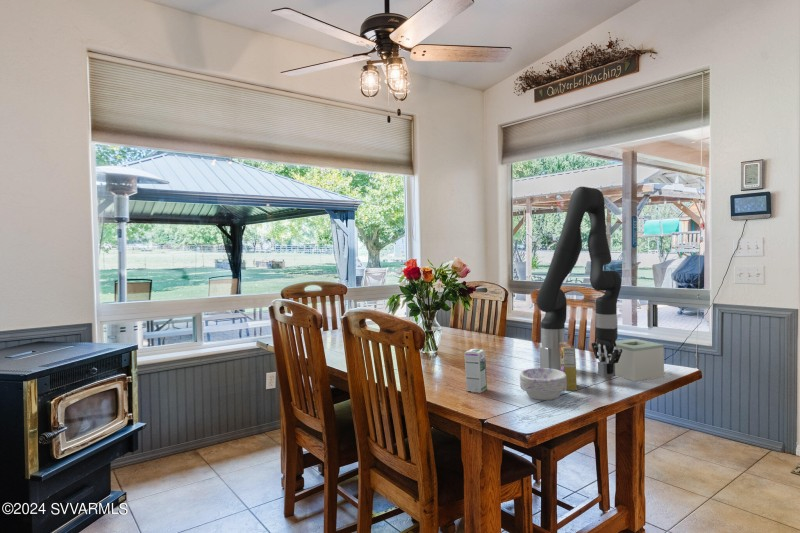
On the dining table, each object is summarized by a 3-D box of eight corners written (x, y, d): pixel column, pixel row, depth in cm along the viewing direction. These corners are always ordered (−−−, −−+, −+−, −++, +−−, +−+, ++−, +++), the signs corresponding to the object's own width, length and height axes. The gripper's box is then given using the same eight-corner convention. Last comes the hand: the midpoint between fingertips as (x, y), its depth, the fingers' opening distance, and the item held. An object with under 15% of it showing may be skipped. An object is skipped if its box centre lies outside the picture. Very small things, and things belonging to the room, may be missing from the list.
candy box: (560, 383, 178) (558, 342, 177) (572, 383, 177) (571, 342, 177) (564, 390, 169) (563, 347, 169) (577, 390, 168) (575, 347, 168)
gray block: (603, 377, 174) (603, 363, 174) (598, 375, 177) (597, 362, 177) (615, 375, 176) (614, 362, 175) (609, 373, 179) (609, 360, 178)
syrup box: (481, 393, 170) (479, 352, 169) (465, 391, 173) (464, 351, 172) (487, 389, 175) (485, 349, 174) (472, 387, 178) (470, 348, 177)
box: (634, 381, 176) (633, 348, 176) (606, 372, 190) (606, 342, 189) (664, 376, 181) (663, 344, 180) (635, 368, 194) (634, 338, 194)
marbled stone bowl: (540, 406, 154) (539, 381, 154) (511, 394, 168) (510, 371, 168) (577, 398, 160) (576, 374, 160) (546, 387, 174) (545, 365, 174)
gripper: (584, 323, 181) (585, 369, 182) (611, 329, 168) (611, 378, 168) (601, 322, 183) (601, 367, 184) (629, 328, 170) (629, 376, 171)
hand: (606, 372), depth 176 cm, fingers closed on gray block, 2 cm apart
